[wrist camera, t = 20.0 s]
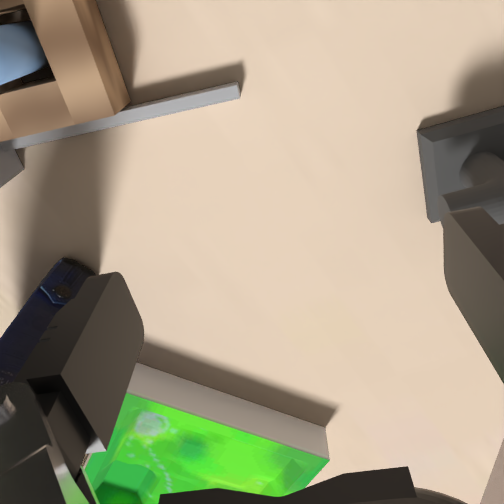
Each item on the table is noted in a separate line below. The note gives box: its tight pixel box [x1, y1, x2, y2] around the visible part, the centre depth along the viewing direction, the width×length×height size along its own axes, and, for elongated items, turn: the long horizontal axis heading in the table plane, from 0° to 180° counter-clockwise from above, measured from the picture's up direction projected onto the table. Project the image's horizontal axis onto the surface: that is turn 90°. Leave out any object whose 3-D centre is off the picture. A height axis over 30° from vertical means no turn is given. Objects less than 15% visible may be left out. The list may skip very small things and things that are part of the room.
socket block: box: [0, 0, 131, 142], centre depth 33 cm, size 11×11×4 cm
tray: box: [83, 362, 330, 504], centre depth 58 cm, size 25×25×5 cm
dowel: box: [0, 20, 50, 85], centre depth 31 cm, size 3×3×9 cm
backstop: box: [0, 81, 241, 188], centre depth 32 cm, size 18×22×6 cm
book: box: [0, 258, 96, 386], centre depth 39 cm, size 14×5×20 cm, turn 149°
